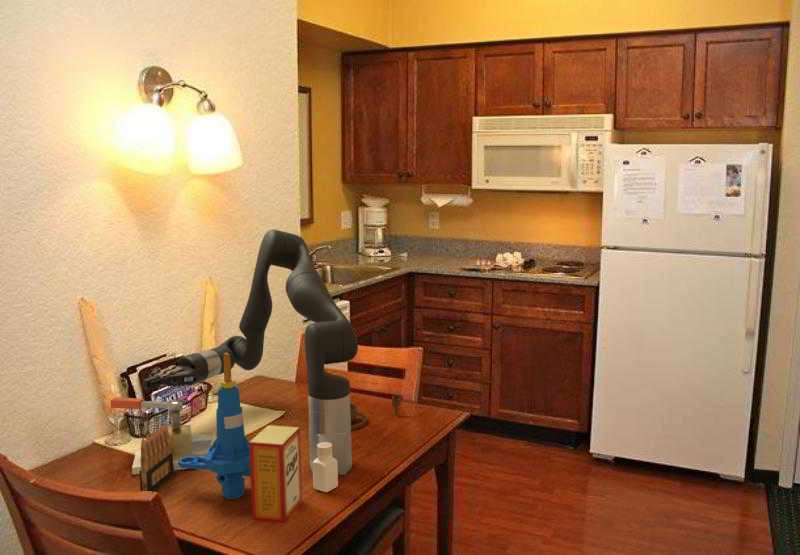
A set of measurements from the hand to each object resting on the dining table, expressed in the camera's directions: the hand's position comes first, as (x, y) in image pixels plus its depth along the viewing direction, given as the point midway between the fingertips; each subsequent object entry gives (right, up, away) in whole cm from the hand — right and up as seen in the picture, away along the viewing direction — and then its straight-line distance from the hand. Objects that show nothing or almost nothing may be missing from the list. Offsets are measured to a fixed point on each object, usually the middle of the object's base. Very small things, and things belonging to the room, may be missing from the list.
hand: (144, 384), depth 172 cm
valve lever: (+2, -5, -5) cm, 7 cm away
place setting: (+49, -14, +20) cm, 55 cm away
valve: (+22, -20, -19) cm, 35 cm away
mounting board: (+9, -17, -4) cm, 20 cm away
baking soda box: (+35, -21, -27) cm, 49 cm away
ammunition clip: (+8, -19, -15) cm, 25 cm away
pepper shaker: (+44, -19, -17) cm, 51 cm away
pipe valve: (+9, -16, -4) cm, 18 cm away
